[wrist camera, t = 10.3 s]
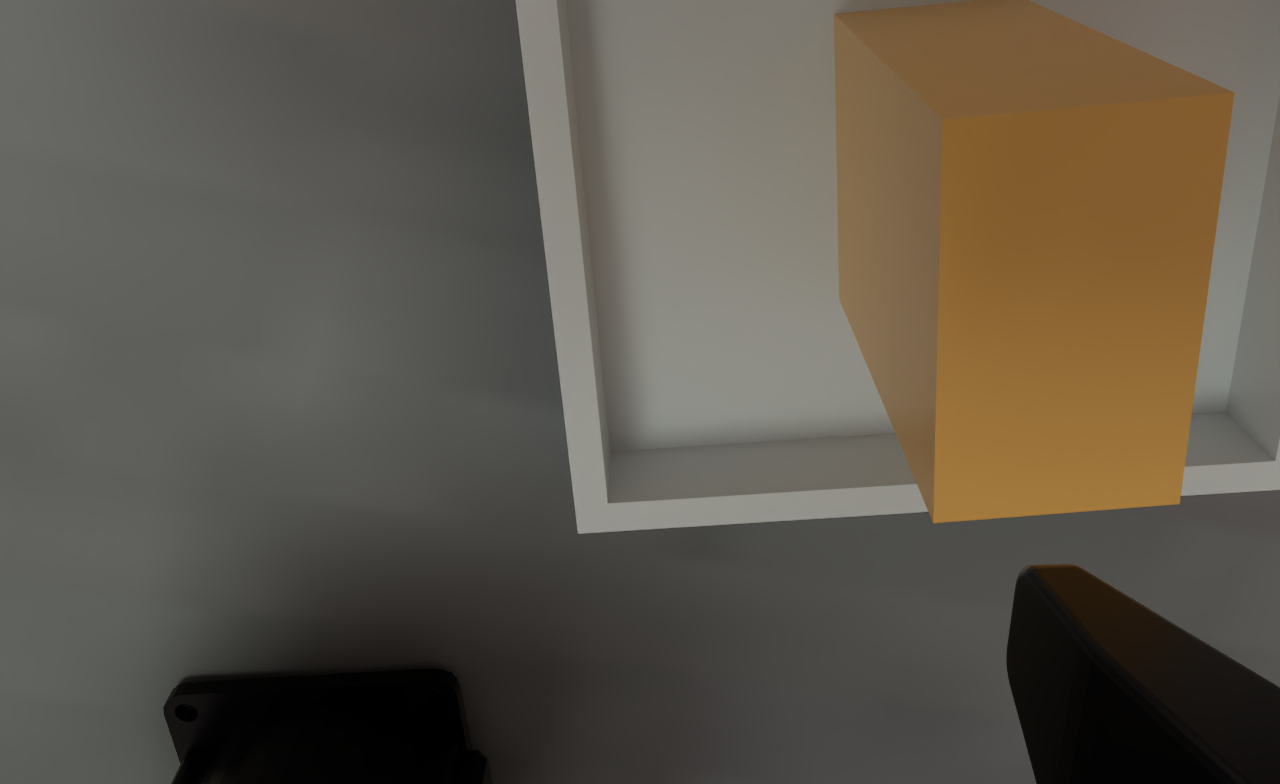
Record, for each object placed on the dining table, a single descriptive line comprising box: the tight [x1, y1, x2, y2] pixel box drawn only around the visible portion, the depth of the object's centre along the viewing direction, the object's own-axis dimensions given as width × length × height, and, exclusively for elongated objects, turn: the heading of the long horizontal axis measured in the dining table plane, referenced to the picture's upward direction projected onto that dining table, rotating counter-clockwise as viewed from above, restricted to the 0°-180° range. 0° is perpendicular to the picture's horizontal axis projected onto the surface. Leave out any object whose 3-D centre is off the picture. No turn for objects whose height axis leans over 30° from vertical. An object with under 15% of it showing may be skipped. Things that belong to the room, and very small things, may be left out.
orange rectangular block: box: [834, 0, 1235, 523], centre depth 16 cm, size 3×5×8 cm, turn 5°
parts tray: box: [516, 0, 1280, 534], centre depth 19 cm, size 13×12×2 cm
